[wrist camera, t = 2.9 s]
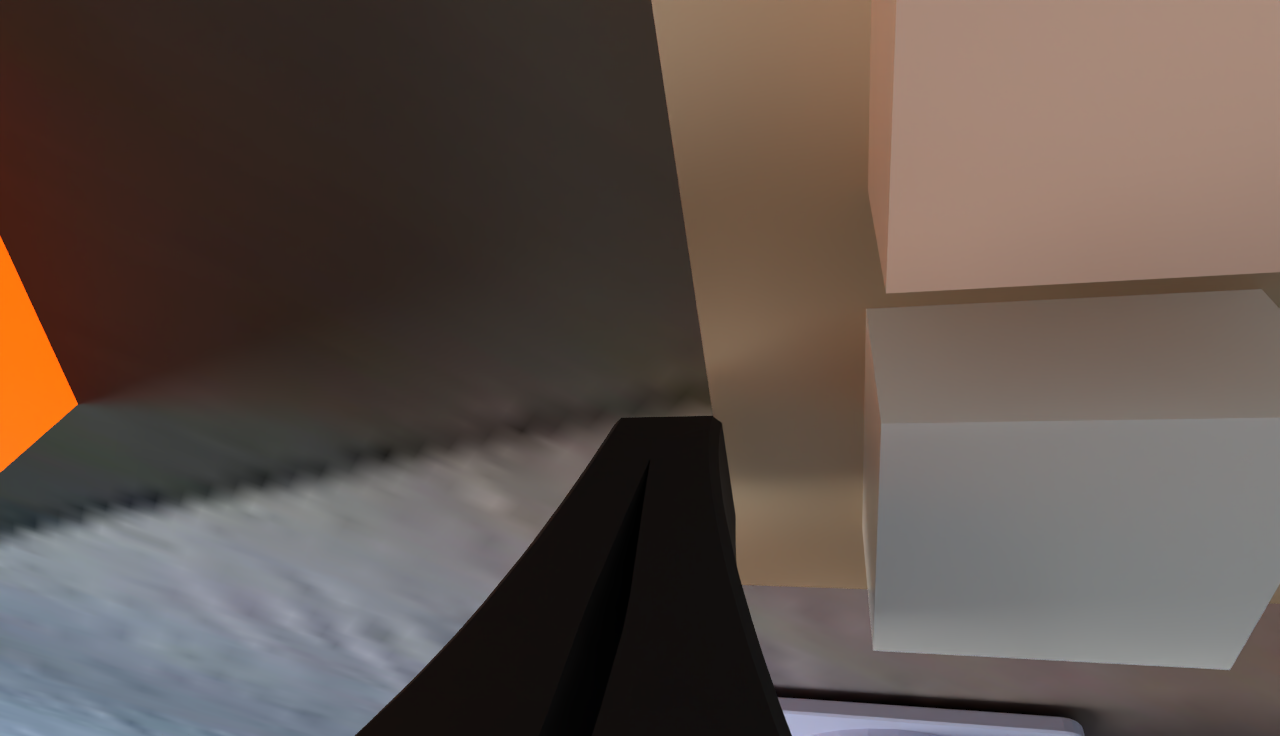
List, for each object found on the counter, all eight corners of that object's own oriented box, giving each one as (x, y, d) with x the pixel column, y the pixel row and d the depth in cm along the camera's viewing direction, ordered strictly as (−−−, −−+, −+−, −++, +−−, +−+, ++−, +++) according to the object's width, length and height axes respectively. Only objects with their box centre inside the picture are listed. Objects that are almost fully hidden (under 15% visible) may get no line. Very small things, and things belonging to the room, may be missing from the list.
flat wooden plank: (1378, 499, 12) (1466, 610, 10) (744, 496, 14) (738, 585, 12) (2232, -836, 4) (2988, -1157, 3) (634, -385, 7) (586, -433, 5)
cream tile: (1163, 533, 10) (1229, 669, 9) (861, 528, 11) (873, 651, 10) (1261, 288, 8) (1377, 416, 6) (865, 308, 9) (881, 424, 7)
